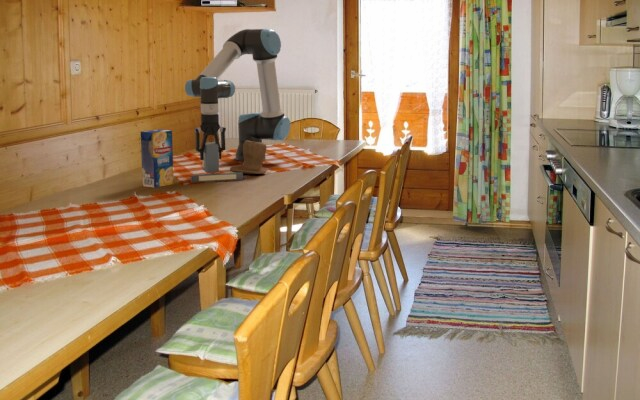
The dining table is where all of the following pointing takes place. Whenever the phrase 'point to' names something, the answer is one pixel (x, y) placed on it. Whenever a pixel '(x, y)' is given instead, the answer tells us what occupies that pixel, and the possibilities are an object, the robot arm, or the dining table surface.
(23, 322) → the dining table surface
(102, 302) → the dining table surface
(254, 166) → the brown piece
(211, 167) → the slate carton
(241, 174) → the rail
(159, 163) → the blue food box
